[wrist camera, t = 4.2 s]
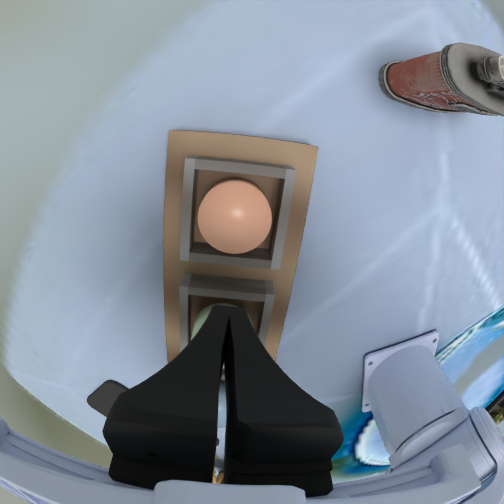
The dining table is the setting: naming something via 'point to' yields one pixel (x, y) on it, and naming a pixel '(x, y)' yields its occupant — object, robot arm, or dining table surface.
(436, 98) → the lighter
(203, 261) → the button board
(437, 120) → the dining table surface
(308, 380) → the dining table surface
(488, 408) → the salad plate
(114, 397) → the phone
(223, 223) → the terracotta button
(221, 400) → the slate blue button
